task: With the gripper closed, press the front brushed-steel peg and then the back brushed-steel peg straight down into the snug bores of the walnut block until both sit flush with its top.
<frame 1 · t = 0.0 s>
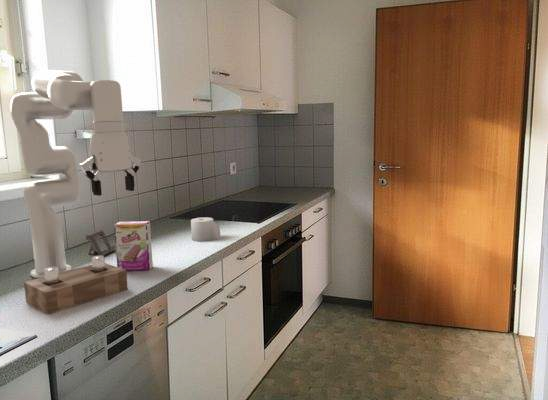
hand: (114, 192, 130), 31 cm above the countertop, tool pointing down, fingers open, 9 cm apart
candy bar box: (135, 269, 166), on the countertop
toilet tissue: (206, 239, 206), on the countertop
walnut block: (78, 295, 142), on the countertop
front peg: (52, 278, 136), point 7 cm above the countertop, slide at 4.0 cm
portable electronic device stand: (100, 254, 187), on the countertop
back peg: (98, 266, 146), point 7 cm above the countertop, slide at 4.0 cm
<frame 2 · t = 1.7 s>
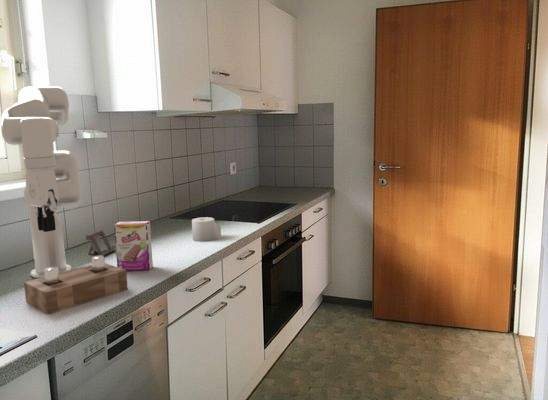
hand: (47, 229, 133), 21 cm above the countertop, tool pointing down, fingers closed
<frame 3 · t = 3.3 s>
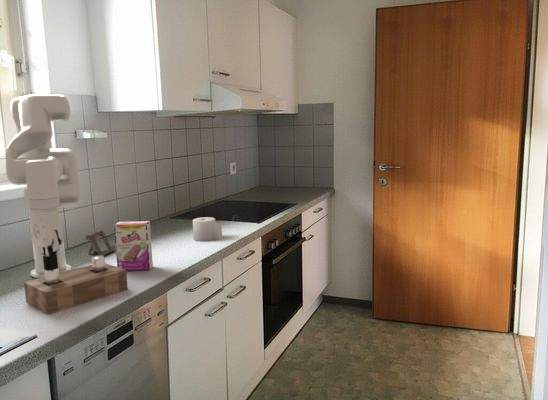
hand: (51, 268, 135), 10 cm above the countertop, tool pointing down, fingers closed
front peg: (52, 278, 136), point 7 cm above the countertop, slide at 3.9 cm, touching gripper
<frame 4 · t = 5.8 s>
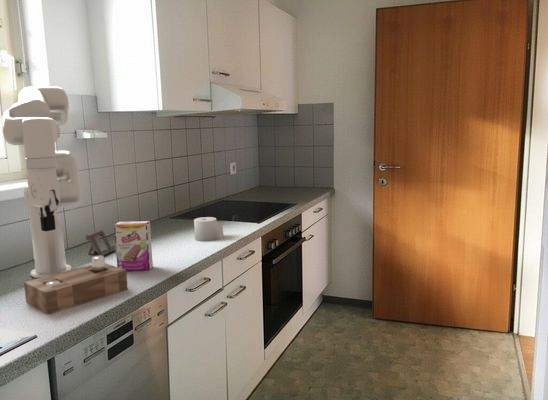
hand: (48, 230, 134), 21 cm above the countertop, tool pointing down, fingers closed
front peg: (53, 291, 136), point 3 cm above the countertop, slide at -0.1 cm
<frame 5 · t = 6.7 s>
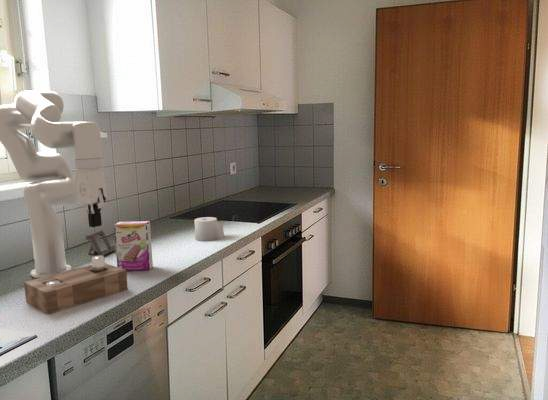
hand: (95, 226, 144), 20 cm above the countertop, tool pointing down, fingers closed
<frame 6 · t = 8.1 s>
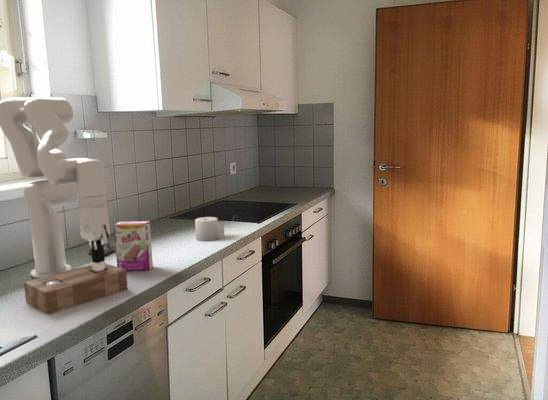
hand: (98, 261, 145), 9 cm above the countertop, tool pointing down, fingers closed
back peg: (98, 270, 146), point 6 cm above the countertop, slide at 2.7 cm, touching gripper
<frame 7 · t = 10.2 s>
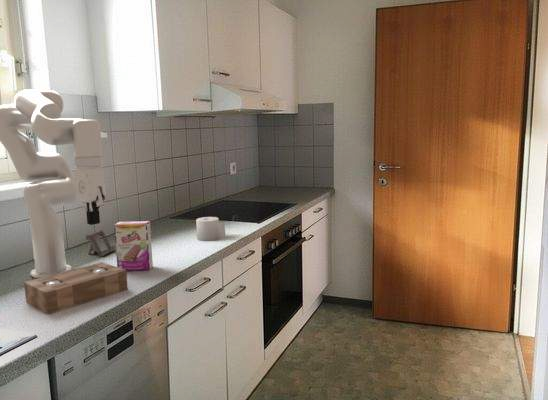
hand: (93, 223, 144), 20 cm above the countertop, tool pointing down, fingers closed
back peg: (99, 278, 146), point 3 cm above the countertop, slide at -0.1 cm
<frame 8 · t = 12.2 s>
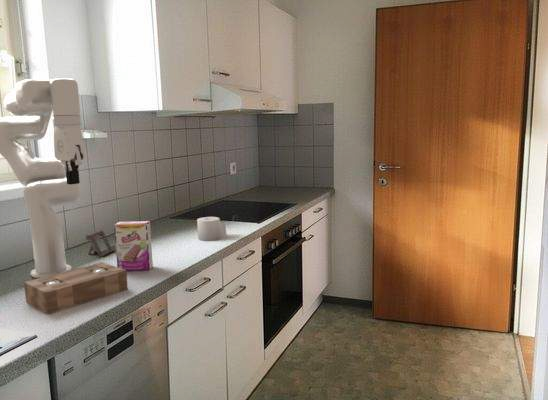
hand: (73, 183, 145), 32 cm above the countertop, tool pointing down, fingers closed
at the end: front peg slide at -0.1 cm; back peg slide at -0.1 cm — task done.
